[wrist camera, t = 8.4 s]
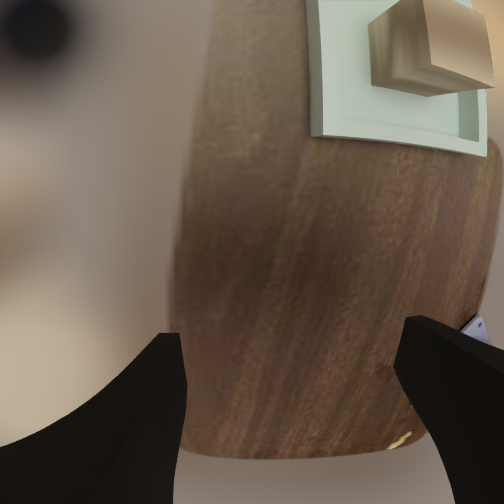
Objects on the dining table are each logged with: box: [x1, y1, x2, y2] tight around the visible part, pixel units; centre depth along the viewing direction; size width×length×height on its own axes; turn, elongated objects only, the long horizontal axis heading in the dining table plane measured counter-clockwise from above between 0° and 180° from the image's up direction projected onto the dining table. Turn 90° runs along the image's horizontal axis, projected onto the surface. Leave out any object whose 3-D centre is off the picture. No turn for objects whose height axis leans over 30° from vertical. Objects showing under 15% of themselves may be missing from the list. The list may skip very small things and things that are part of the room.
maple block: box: [367, 0, 495, 97], centre depth 12 cm, size 4×4×6 cm
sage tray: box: [306, 0, 487, 157], centre depth 14 cm, size 11×11×2 cm
